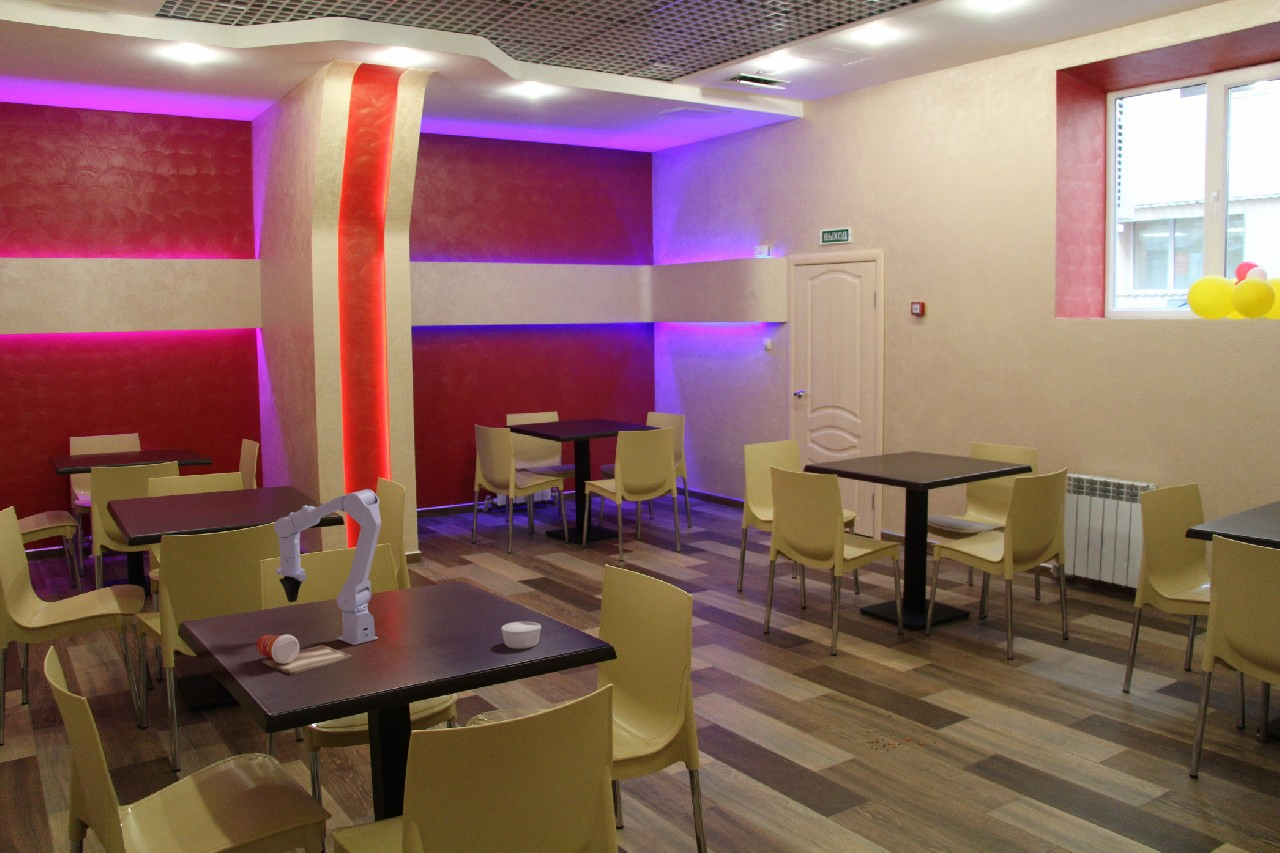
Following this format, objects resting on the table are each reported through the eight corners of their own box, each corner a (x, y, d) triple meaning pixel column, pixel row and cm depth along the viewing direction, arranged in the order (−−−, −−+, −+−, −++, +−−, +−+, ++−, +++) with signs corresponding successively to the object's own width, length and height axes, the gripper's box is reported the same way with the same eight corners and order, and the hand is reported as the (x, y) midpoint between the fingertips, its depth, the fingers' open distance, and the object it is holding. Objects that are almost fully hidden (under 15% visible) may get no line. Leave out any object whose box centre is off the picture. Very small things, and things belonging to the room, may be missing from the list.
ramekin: (547, 640, 303) (546, 622, 303) (533, 651, 292) (532, 632, 292) (511, 637, 306) (510, 620, 306) (495, 649, 295) (495, 630, 295)
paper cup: (270, 625, 293) (291, 629, 283) (284, 647, 295) (306, 651, 285) (246, 643, 288) (267, 647, 278) (261, 665, 291) (282, 670, 280)
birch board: (352, 658, 289) (351, 655, 289) (291, 675, 276) (291, 671, 276) (322, 647, 300) (322, 644, 300) (262, 662, 287) (262, 659, 287)
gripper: (314, 557, 309) (317, 602, 310) (290, 551, 319) (292, 594, 320) (292, 561, 304) (295, 607, 305) (268, 555, 314) (271, 599, 315)
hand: (292, 601), depth 312 cm, fingers closed
